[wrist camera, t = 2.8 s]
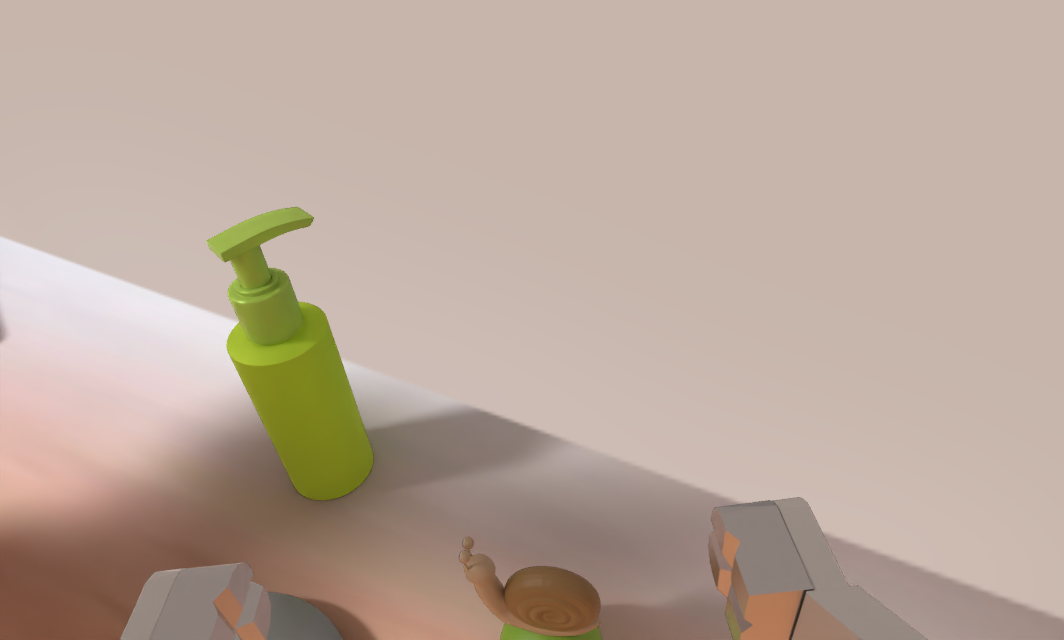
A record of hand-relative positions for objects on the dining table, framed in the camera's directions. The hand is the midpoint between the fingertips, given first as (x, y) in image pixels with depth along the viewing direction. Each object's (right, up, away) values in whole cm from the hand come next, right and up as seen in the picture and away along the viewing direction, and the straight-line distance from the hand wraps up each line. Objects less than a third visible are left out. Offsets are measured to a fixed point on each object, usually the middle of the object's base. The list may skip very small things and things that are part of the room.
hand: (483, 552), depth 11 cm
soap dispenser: (-13, -7, +36) cm, 39 cm away
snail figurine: (+2, -15, +24) cm, 29 cm away
